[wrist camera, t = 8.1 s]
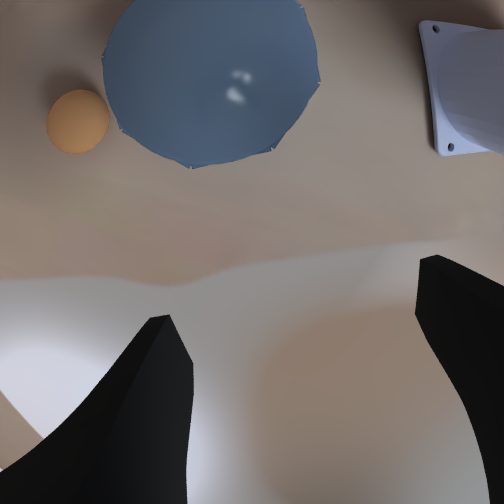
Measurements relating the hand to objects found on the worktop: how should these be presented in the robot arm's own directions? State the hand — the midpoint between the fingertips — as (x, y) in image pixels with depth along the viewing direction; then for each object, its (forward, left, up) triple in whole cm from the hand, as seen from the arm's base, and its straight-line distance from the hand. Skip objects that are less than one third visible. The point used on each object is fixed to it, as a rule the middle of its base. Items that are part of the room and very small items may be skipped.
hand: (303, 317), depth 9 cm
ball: (+8, -7, -8) cm, 13 cm away
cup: (+1, -7, -9) cm, 11 cm away
